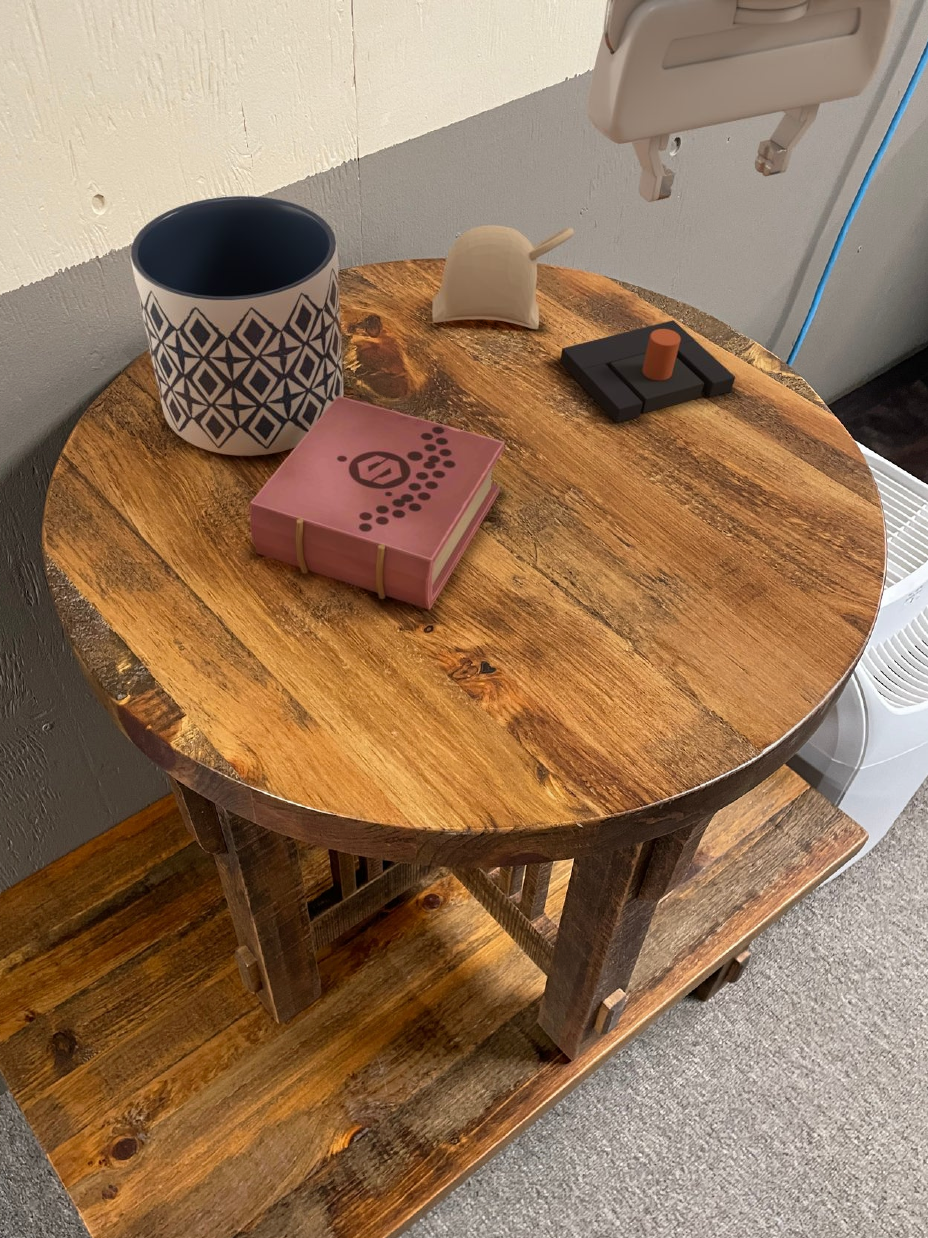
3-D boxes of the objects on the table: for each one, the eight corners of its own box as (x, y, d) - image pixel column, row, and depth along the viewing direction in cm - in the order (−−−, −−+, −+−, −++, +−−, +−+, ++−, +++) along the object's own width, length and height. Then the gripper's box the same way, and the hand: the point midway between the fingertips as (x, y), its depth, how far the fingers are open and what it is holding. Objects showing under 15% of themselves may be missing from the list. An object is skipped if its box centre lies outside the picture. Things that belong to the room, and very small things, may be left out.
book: (251, 560, 76) (244, 509, 72) (340, 446, 84) (337, 395, 80) (424, 617, 72) (426, 567, 68) (499, 492, 81) (504, 441, 77)
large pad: (670, 334, 95) (673, 319, 94) (731, 391, 89) (736, 376, 88) (559, 362, 92) (561, 347, 91) (616, 423, 86) (619, 408, 85)
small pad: (663, 362, 92) (675, 311, 88) (700, 397, 89) (714, 346, 85) (607, 376, 91) (617, 326, 87) (642, 413, 87) (654, 362, 83)
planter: (341, 349, 93) (334, 192, 82) (347, 457, 84) (340, 295, 72) (170, 355, 93) (139, 197, 81) (156, 464, 83) (118, 302, 72)
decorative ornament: (434, 289, 99) (439, 207, 93) (560, 298, 99) (574, 217, 92) (430, 323, 96) (435, 240, 89) (561, 332, 95) (575, 250, 89)
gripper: (642, -20, 54) (603, 233, 65) (943, -68, 59) (860, 175, 70) (586, -52, 58) (558, 192, 69) (873, -96, 63) (804, 140, 73)
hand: (712, 183), depth 69 cm, fingers open, 8 cm apart
